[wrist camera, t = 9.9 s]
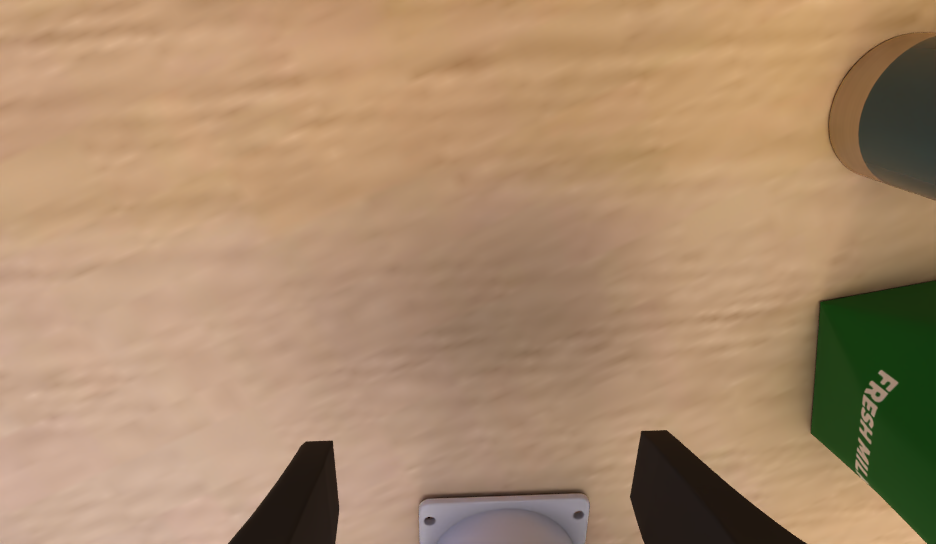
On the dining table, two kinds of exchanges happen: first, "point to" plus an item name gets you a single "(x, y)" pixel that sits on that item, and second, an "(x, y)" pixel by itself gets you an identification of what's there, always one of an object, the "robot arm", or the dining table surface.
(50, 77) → the dining table surface
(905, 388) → the milk carton
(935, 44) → the tin can
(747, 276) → the dining table surface
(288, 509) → the robot arm
